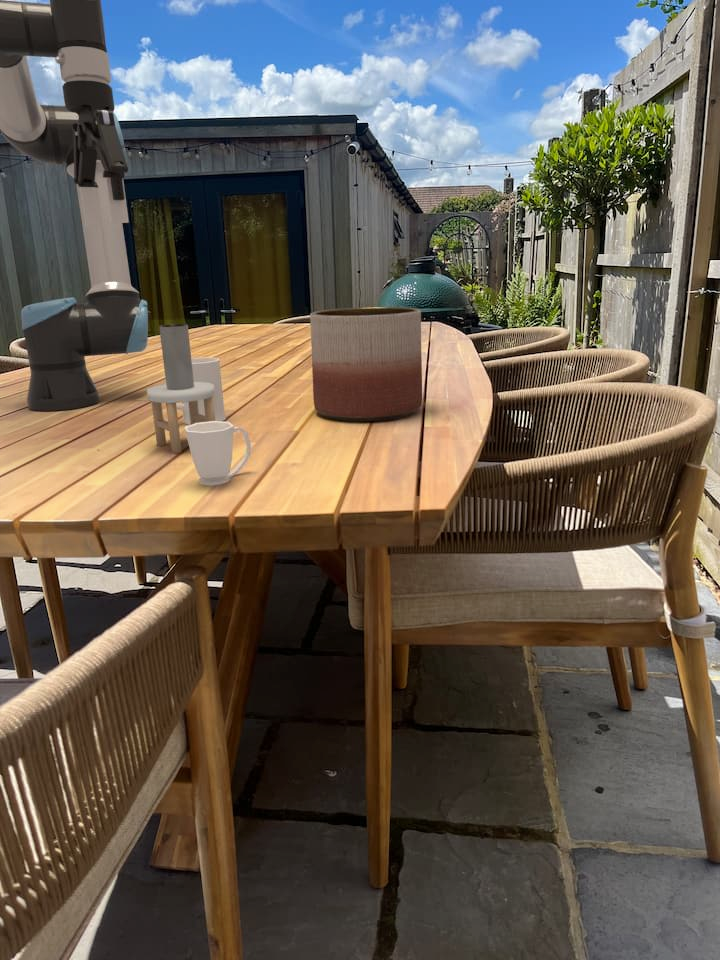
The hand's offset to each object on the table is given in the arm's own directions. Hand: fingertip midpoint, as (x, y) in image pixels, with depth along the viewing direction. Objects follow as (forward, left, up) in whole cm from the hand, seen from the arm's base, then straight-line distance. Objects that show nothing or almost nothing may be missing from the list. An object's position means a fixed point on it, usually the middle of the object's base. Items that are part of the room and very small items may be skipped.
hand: (106, 225), depth 116 cm
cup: (+37, 0, -37) cm, 52 cm away
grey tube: (+15, +4, -27) cm, 31 cm away
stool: (+15, +4, -37) cm, 40 cm away
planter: (+16, +43, -37) cm, 59 cm away
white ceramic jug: (-1, +13, -37) cm, 39 cm away
